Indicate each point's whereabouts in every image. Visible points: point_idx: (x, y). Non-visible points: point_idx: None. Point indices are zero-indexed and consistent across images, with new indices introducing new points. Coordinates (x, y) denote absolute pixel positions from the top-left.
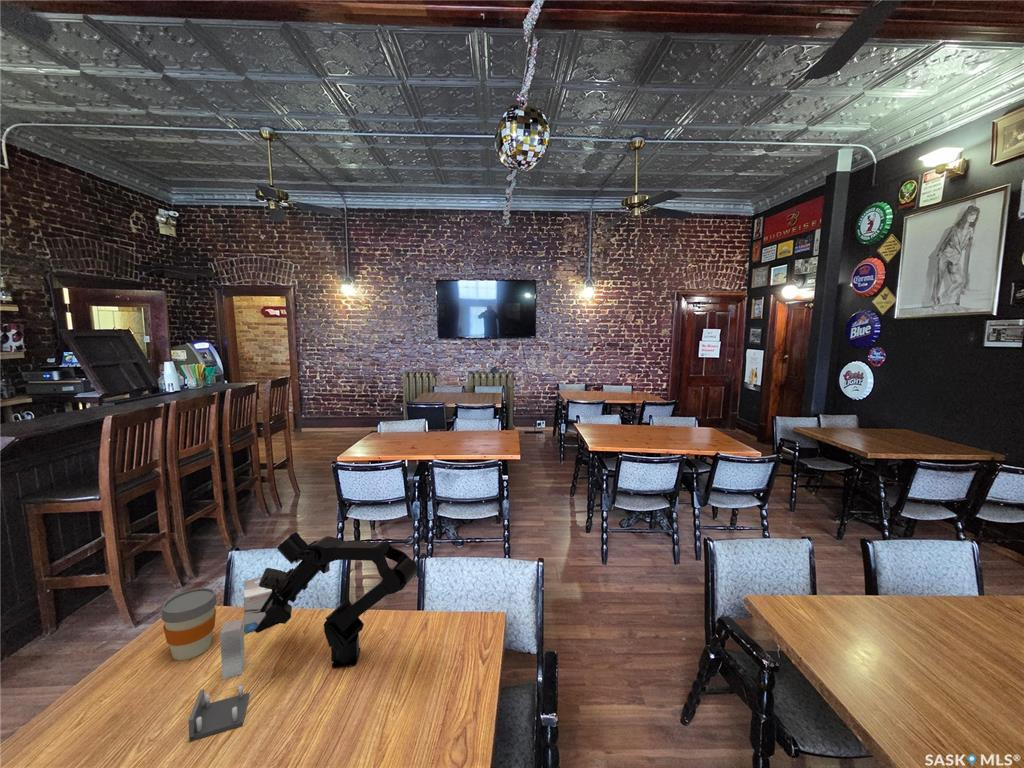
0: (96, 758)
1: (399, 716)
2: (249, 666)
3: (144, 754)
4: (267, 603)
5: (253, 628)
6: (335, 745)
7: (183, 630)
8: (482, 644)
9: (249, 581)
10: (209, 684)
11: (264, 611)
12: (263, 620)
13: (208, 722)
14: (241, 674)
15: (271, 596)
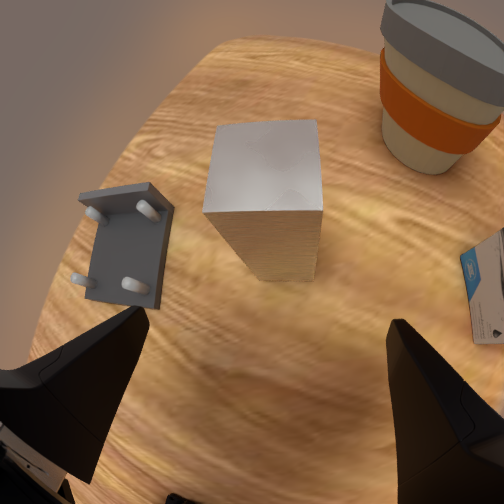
0: (162, 102)
1: None
2: (290, 297)
3: (126, 155)
4: (412, 382)
5: (468, 277)
6: None
7: (386, 64)
8: None
9: None
10: None
11: (387, 350)
12: (49, 357)
13: (114, 232)
14: (259, 279)
15: (441, 433)
